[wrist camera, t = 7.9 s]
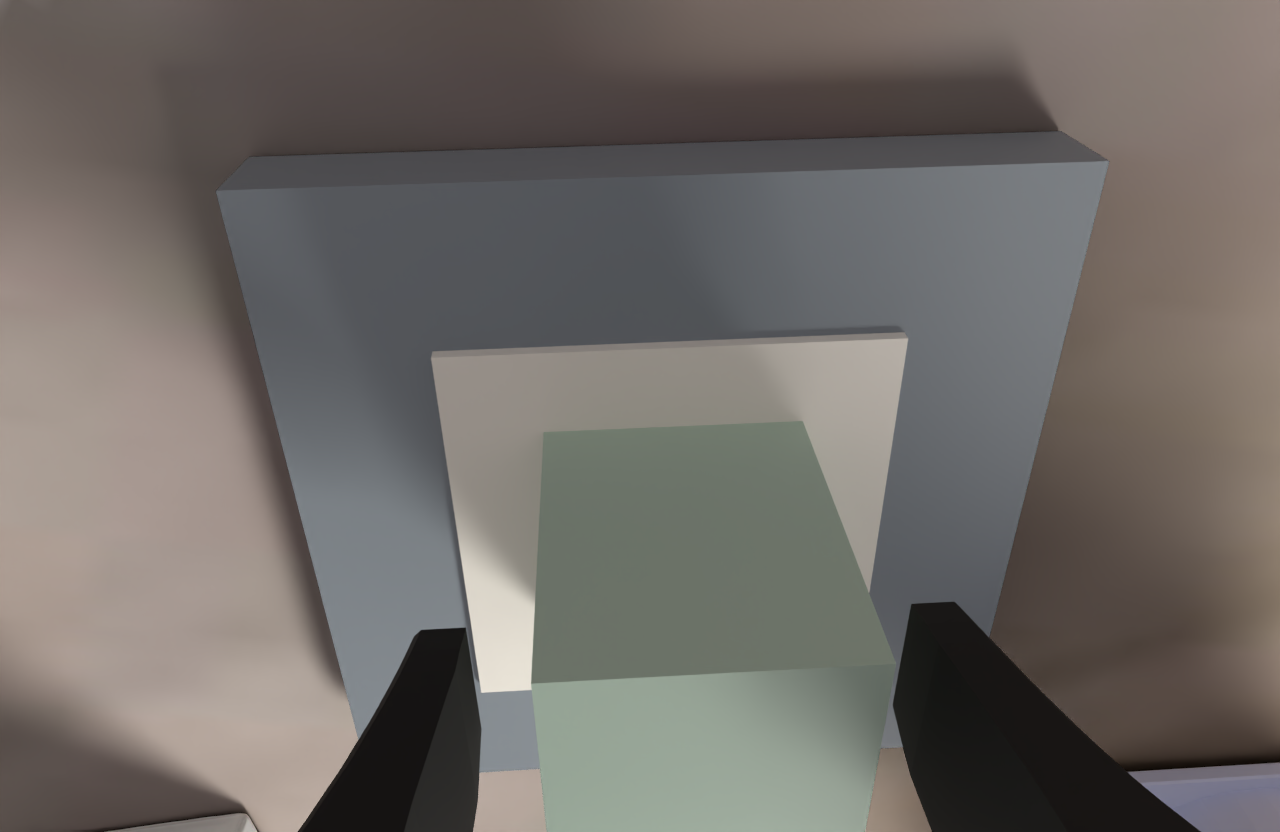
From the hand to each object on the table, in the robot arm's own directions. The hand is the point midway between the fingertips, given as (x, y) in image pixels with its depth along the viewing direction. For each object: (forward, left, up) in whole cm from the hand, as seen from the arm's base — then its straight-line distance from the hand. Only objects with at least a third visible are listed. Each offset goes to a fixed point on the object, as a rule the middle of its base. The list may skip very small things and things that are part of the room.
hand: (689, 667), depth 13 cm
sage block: (0, 0, -3) cm, 3 cm away
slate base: (0, 0, -5) cm, 5 cm away
